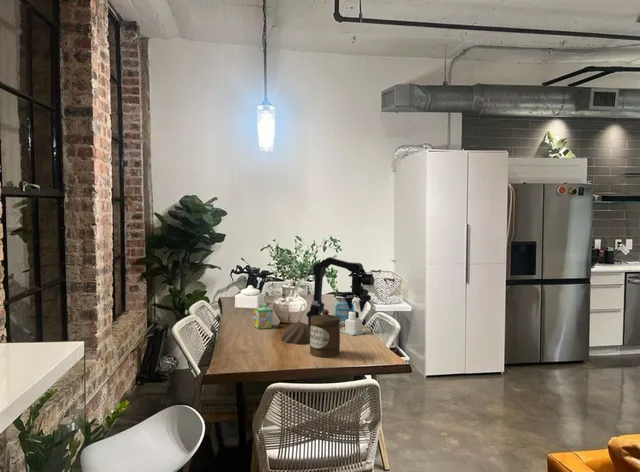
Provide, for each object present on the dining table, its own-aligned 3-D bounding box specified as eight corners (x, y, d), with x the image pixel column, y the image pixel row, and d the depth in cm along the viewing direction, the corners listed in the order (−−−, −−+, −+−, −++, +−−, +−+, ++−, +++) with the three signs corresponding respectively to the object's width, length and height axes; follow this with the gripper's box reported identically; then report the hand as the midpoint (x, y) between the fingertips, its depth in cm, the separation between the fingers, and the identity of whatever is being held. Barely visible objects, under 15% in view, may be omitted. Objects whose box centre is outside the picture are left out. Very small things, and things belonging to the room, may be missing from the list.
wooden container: (303, 353, 245) (304, 309, 244) (324, 347, 255) (325, 306, 254) (324, 359, 234) (325, 313, 233) (345, 354, 245) (346, 310, 244)
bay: (343, 331, 294) (343, 327, 294) (329, 327, 304) (329, 323, 304) (359, 328, 303) (359, 325, 303) (344, 324, 312) (344, 321, 312)
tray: (353, 335, 282) (353, 333, 282) (340, 332, 291) (340, 330, 291) (366, 333, 290) (366, 331, 290) (353, 329, 298) (353, 327, 298)
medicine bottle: (351, 329, 295) (352, 310, 295) (361, 331, 291) (362, 311, 290) (344, 331, 290) (345, 311, 289) (354, 333, 285) (355, 313, 285)
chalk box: (253, 326, 302) (253, 302, 301) (267, 325, 306) (267, 301, 305) (258, 329, 293) (258, 305, 293) (272, 328, 298) (273, 304, 297)
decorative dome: (307, 334, 284) (308, 317, 284) (322, 343, 266) (322, 324, 266) (276, 337, 276) (276, 319, 275) (289, 346, 258) (289, 327, 257)
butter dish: (257, 308, 361) (257, 287, 360) (234, 307, 364) (234, 286, 363) (264, 304, 378) (264, 284, 378) (242, 303, 381) (242, 283, 381)
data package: (335, 322, 319) (335, 303, 319) (333, 320, 324) (334, 302, 323) (353, 321, 321) (353, 303, 321) (351, 320, 326) (352, 302, 325)
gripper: (377, 285, 288) (376, 311, 289) (355, 281, 303) (354, 306, 303) (364, 286, 281) (363, 313, 282) (342, 282, 295) (341, 308, 296)
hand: (356, 310), depth 291 cm, fingers open, 9 cm apart
